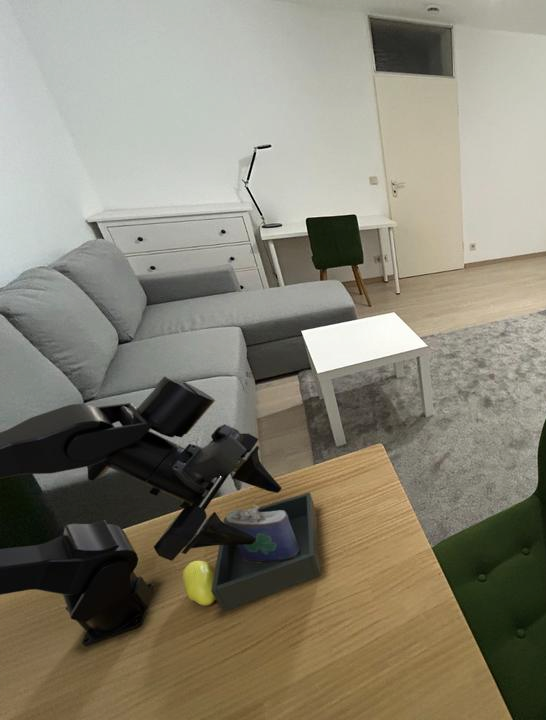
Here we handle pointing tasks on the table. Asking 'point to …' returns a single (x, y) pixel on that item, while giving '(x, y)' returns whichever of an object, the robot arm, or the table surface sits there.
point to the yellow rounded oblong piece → (199, 582)
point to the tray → (258, 580)
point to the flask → (265, 535)
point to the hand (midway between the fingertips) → (268, 514)
